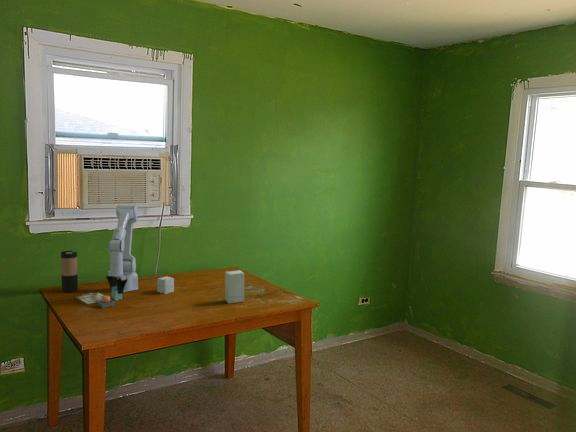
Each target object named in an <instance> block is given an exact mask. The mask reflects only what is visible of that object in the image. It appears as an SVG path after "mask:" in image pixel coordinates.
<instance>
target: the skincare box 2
mask: <svg viewBox="0 0 576 432" xmlns="http://www.w3.org/2000/svg"><path fill="white" fill-rule="evenodd" d="M224 286H225V287H224V289H225V290H224V291H225V292H224V293H225V295H224V296H225V297H224V299H225V300H224V301H226V302H227V304H235V303H244V302H245V272H243V271H242V270H241V269H237V270H232V271H224Z"/></svg>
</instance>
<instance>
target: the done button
mask: <svg viewBox="0 0 576 432" xmlns="http://www.w3.org/2000/svg"><path fill="white" fill-rule="evenodd" d="M110 298H111V296H110V295H105V296H102V303H108V302H110Z"/></svg>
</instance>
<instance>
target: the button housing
mask: <svg viewBox="0 0 576 432" xmlns="http://www.w3.org/2000/svg"><path fill="white" fill-rule="evenodd" d="M111 299H112V298H111ZM111 299H110V302H108V303H102V300H101V301H97V303H96V306H97V305H98V306H97V307H99V306H100V307H99V308H101V307H102V308H101V309H106V308H105V307H108V308H111V307H110V306H113V307H116V301H115V300H111Z"/></svg>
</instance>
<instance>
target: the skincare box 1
mask: <svg viewBox="0 0 576 432" xmlns="http://www.w3.org/2000/svg"><path fill="white" fill-rule="evenodd" d="M159 292H160V294H163V293H164V295H167V294H170V293H174V292H175V278H174V277H170V276H162V277H158V278H157V293H159Z"/></svg>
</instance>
